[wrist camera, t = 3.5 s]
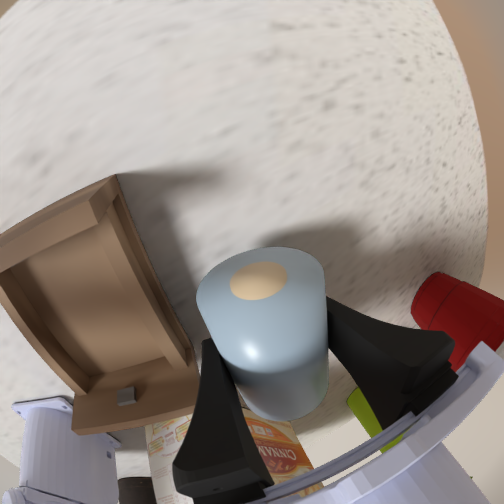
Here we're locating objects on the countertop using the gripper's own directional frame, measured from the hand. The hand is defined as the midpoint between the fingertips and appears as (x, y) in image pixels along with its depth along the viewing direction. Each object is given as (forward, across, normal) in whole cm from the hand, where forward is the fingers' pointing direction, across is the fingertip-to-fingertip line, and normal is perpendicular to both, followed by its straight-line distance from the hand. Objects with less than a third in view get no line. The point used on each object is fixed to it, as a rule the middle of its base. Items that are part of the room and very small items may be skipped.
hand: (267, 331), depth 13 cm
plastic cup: (+4, -18, +10) cm, 21 cm away
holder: (+4, +9, -3) cm, 10 cm away
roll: (+2, 0, 0) cm, 2 cm away
